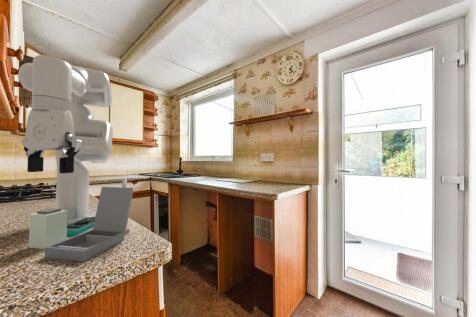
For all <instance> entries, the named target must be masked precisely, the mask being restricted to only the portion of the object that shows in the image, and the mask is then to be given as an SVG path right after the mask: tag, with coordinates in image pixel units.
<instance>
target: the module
mask: <svg viewBox="0 0 476 317" xmlns="http://www.w3.org/2000/svg"><path fill="white" fill-rule="evenodd" d="M67 225H68V224H67V210H61V209H56V207H53V208H51V207H50V208H46V209H41V210H37V211H36V212H35V213H30V214H29V230H28V231H29V234H28V237H29V238H28V248H31V249H40V250H45V247H48V246H50V245H53V244H56V243H58V242H61V241H64V240H66V239H68V238H67V237H68V236H67Z"/></svg>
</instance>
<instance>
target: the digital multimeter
mask: <svg viewBox="0 0 476 317" xmlns="http://www.w3.org/2000/svg"><path fill="white" fill-rule="evenodd" d="M94 221H95V216H93V217H86V218H83V219H81V220H78V221H76V222H73V223H71V224H67V237H74V236H77V235H79V234H82V233H85V232H87V231H89V230H91V229H93V226H94Z"/></svg>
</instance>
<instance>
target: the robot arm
mask: <svg viewBox="0 0 476 317" xmlns="http://www.w3.org/2000/svg"><path fill="white" fill-rule="evenodd" d="M17 76H18V80H19V82H20V85H21V86H22V87H23V88H24V89H26V90H27V91H29V92H31V110H30V111H29V113H28V117H27V120H26V125H25V126H26V127H25V135H24V138H23V139H22V140H21V143H22V145H23V150H24V151H25V156H26V157H27V166H26V167H27V170H26V172H28V173H40V172H41V173H42V172H43V171H44V156H42V155H43V154H44V153H45V151H46V150H47V151H54V155H55V161H56V162H55V163H56V180H55V182H56V184H55V185H56V188H55V208H56V209H61V210H67V225H68V224H71V223H73V222H76V221H78V220H81V219H83V218H86V217H94V213H93V212H89V207H90V206H89V204H90V203H89V202H90V200H89V199H90V197H89V196H90V171H89V170H88V168H87V167H86V166H85V165H84V164H83V163H82V162H107V161H109V159H110V158H111V156H112V150H113V149H112V148H113V135H114V134H113V126H112V125H111V123H110V122H109V121H106V120H101V119H95V116H94V114H93V113H92V111H90V109H89V108H88V107H87V106H90V107H99V108H108V107H110V106H111V105H112V101H113V100H112V98H113V97H112V90H111V89H112V88H111V81H110V78H109V76H108V74H107V73H105V72H104V71H103V70H98V69H92V68H88V67H82V66H79V65H78V66H75V65H74V66H73V65H70V63H68V62H67V61H65V60H63V59H61V58H58V57H56V56H53V55H52V56H51V55H46V54H39V55H38V54H37V55H36V56H34V57H33V59H32V62H25V63H24V64H22V65H21V66H20V68H19V70H18V74H17Z"/></svg>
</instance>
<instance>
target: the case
mask: <svg viewBox="0 0 476 317" xmlns="http://www.w3.org/2000/svg"><path fill="white" fill-rule="evenodd" d="M123 241H125V235H124V232H120V231H107V230H94V229H93V228H92V229H89V230H86V231H84V232H82V233H80V234H78V235H76V236H70V238H67V239H66V240H64V241H61V242H58V243H56V244H53V245H50V246H48V247H45V249H44V258H45V259H54V260H62V261H72V262H80V263H84V262H86V261H88V260H90V259H92V258H94V257H96V256H97V255H99V254H101V253H103V252H105V251H106V250H108V249H111V248H112V247H114V246H116V245H118V244H120V243H122V242H123Z"/></svg>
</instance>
